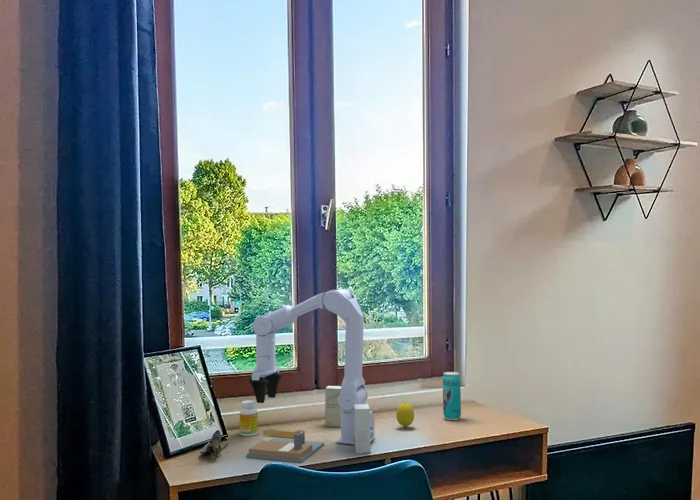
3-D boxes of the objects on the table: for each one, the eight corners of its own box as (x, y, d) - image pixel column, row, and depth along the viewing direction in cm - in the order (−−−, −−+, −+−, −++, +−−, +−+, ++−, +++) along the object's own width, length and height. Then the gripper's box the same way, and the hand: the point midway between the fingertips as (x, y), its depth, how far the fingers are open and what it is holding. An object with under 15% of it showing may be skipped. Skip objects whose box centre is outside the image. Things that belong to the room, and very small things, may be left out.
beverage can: (439, 418, 202) (438, 372, 203) (451, 416, 206) (451, 371, 206) (452, 422, 198) (451, 375, 198) (464, 419, 201) (463, 373, 201)
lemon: (394, 429, 190) (393, 403, 190) (399, 424, 195) (399, 399, 195) (411, 430, 188) (411, 404, 188) (416, 426, 193) (416, 400, 193)
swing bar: (306, 443, 172) (306, 430, 172) (302, 446, 170) (302, 433, 170) (266, 440, 176) (266, 427, 176) (262, 442, 174) (262, 429, 174)
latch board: (324, 445, 174) (324, 423, 174) (301, 462, 159) (301, 439, 159) (273, 440, 179) (273, 419, 179) (246, 457, 164) (246, 434, 164)
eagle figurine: (236, 454, 163) (226, 439, 171) (222, 435, 160) (213, 421, 168) (211, 472, 161) (203, 457, 169) (197, 453, 158) (189, 438, 166)
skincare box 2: (354, 446, 172) (353, 403, 172) (369, 446, 172) (368, 403, 173) (355, 453, 166) (354, 408, 166) (371, 452, 166) (370, 408, 167)
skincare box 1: (324, 426, 194) (324, 388, 194) (327, 423, 198) (327, 385, 199) (344, 427, 193) (344, 388, 193) (346, 423, 197) (346, 385, 198)
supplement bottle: (254, 436, 184) (253, 404, 184) (237, 435, 185) (236, 403, 185) (260, 431, 189) (259, 400, 189) (243, 431, 190) (243, 399, 190)
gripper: (264, 351, 196) (265, 394, 195) (242, 358, 182) (242, 404, 182) (285, 352, 194) (285, 395, 193) (264, 359, 180) (264, 405, 179)
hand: (266, 400), depth 187 cm, fingers open, 7 cm apart
